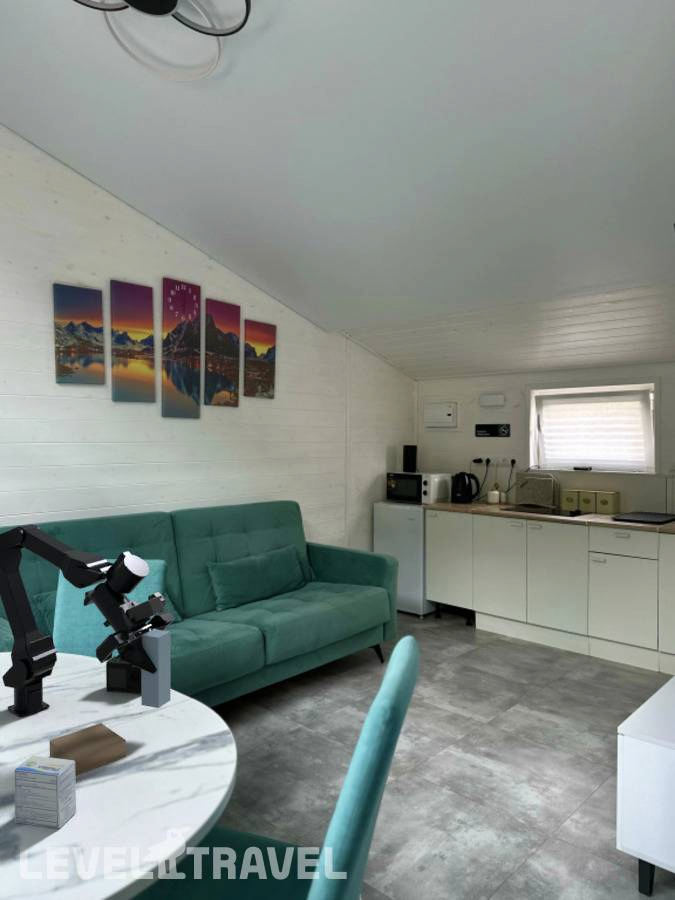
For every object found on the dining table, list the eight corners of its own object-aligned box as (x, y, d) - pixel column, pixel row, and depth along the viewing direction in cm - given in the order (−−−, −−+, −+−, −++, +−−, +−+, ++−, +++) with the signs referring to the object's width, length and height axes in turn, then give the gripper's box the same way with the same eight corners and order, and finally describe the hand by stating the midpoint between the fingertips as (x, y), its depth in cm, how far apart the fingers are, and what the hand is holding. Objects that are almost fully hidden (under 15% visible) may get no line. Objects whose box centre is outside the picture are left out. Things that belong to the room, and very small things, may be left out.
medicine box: (77, 813, 101) (76, 759, 101) (59, 830, 97) (58, 774, 96) (33, 807, 102) (32, 754, 102) (13, 824, 98) (13, 768, 98)
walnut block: (49, 756, 118) (49, 740, 118) (101, 737, 126) (101, 723, 126) (72, 776, 112) (72, 759, 111) (125, 755, 119) (125, 740, 119)
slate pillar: (141, 705, 126) (141, 635, 126) (153, 697, 130) (153, 629, 129) (158, 708, 125) (158, 637, 124) (170, 700, 128) (170, 631, 128)
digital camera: (102, 693, 147) (102, 663, 147) (114, 684, 153) (114, 655, 152) (145, 696, 146) (144, 666, 146) (155, 687, 151) (155, 658, 151)
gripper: (107, 593, 119) (157, 659, 116) (167, 573, 137) (211, 629, 133) (74, 630, 122) (121, 695, 119) (136, 605, 140) (179, 662, 136)
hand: (161, 668), depth 127 cm, fingers closed on slate pillar, 4 cm apart
